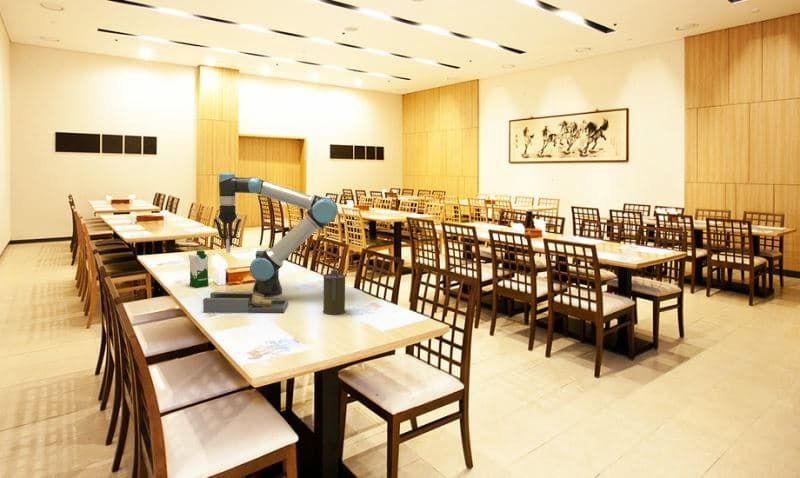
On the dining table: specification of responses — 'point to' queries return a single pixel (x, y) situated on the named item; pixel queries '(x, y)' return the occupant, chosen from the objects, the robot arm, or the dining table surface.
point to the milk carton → (198, 269)
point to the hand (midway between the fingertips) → (228, 252)
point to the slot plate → (227, 302)
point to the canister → (334, 293)
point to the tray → (278, 307)
